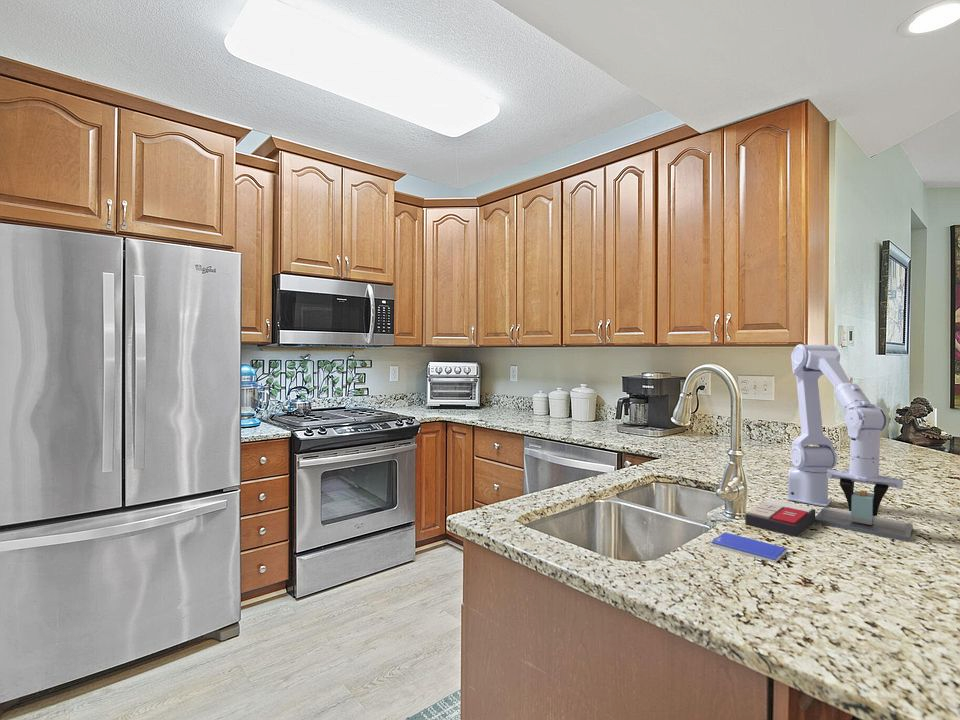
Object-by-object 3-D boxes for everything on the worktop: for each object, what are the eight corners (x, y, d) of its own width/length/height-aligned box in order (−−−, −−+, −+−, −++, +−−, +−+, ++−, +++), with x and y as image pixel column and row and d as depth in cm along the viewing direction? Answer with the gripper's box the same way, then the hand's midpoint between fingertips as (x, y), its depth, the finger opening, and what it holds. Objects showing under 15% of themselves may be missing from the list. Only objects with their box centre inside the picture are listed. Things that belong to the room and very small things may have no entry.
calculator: (744, 511, 123) (767, 496, 133) (744, 528, 124) (767, 512, 134) (796, 522, 115) (816, 506, 125) (795, 541, 115) (815, 523, 126)
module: (851, 521, 123) (851, 492, 123) (854, 515, 127) (855, 487, 127) (871, 525, 120) (872, 495, 120) (874, 519, 125) (875, 490, 124)
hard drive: (711, 540, 110) (775, 558, 101) (725, 531, 115) (787, 547, 107) (711, 548, 110) (775, 565, 101) (724, 538, 116) (787, 554, 107)
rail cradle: (813, 522, 125) (814, 512, 125) (823, 511, 134) (823, 502, 134) (909, 541, 113) (909, 530, 113) (912, 528, 122) (913, 518, 122)
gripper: (825, 454, 125) (824, 509, 126) (902, 464, 115) (900, 523, 116) (830, 450, 130) (829, 503, 131) (904, 459, 121) (902, 516, 121)
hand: (863, 512), depth 124 cm, fingers closed on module, 4 cm apart
